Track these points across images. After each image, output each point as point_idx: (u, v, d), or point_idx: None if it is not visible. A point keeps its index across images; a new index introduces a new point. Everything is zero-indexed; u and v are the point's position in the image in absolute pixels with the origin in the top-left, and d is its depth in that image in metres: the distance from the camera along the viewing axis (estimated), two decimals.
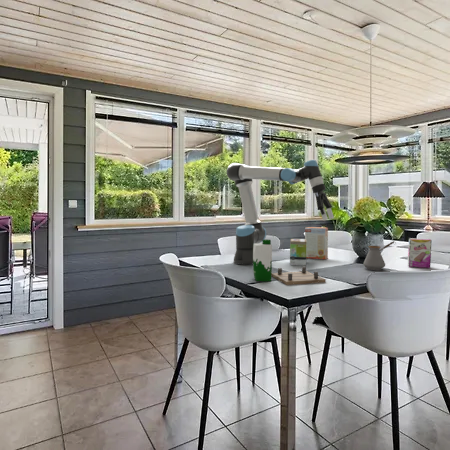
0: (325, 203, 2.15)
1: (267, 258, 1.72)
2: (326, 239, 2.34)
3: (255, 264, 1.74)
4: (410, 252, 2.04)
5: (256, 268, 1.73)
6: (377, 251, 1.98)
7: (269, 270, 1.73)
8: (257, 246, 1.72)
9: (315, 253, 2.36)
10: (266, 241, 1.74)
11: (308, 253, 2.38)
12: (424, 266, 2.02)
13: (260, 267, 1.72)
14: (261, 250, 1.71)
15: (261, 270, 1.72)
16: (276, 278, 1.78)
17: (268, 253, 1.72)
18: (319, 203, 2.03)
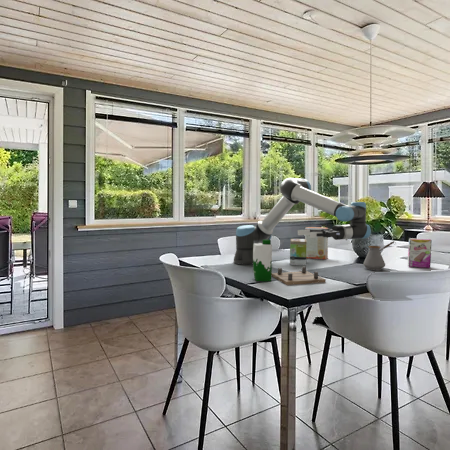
0: (317, 231, 1.87)
1: (267, 258, 1.72)
2: (326, 239, 2.34)
3: (255, 264, 1.74)
4: (410, 252, 2.04)
5: (256, 268, 1.73)
6: (377, 251, 1.98)
7: (269, 270, 1.73)
8: (257, 246, 1.72)
9: (315, 253, 2.36)
10: (266, 241, 1.74)
11: (308, 253, 2.38)
12: (424, 266, 2.02)
13: (260, 267, 1.72)
14: (261, 250, 1.71)
15: (261, 270, 1.72)
16: (276, 278, 1.78)
17: (268, 253, 1.72)
18: (330, 235, 1.73)
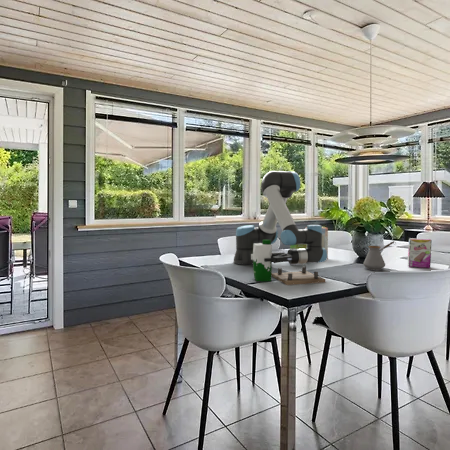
0: None
1: None
2: (326, 239, 2.34)
3: (255, 264, 1.74)
4: (410, 252, 2.04)
5: (256, 268, 1.73)
6: (377, 251, 1.98)
7: (269, 270, 1.73)
8: (257, 246, 1.72)
9: None
10: (266, 241, 1.74)
11: None
12: (424, 266, 2.02)
13: (260, 267, 1.72)
14: (261, 250, 1.71)
15: (261, 270, 1.72)
16: (276, 278, 1.78)
17: (268, 253, 1.72)
18: (278, 260, 1.70)
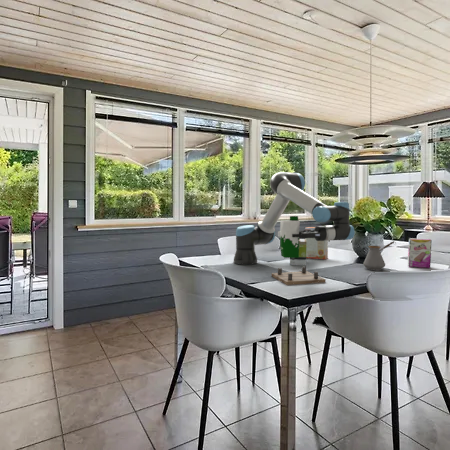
0: None
1: None
2: None
3: (283, 240, 1.73)
4: (410, 252, 2.04)
5: (284, 245, 1.73)
6: (377, 251, 1.98)
7: (297, 246, 1.72)
8: (285, 222, 1.71)
9: (315, 253, 2.36)
10: (294, 217, 1.73)
11: (308, 253, 2.38)
12: (424, 266, 2.02)
13: (287, 243, 1.71)
14: (289, 226, 1.71)
15: (289, 246, 1.71)
16: (276, 278, 1.78)
17: (296, 229, 1.71)
18: (307, 236, 1.69)
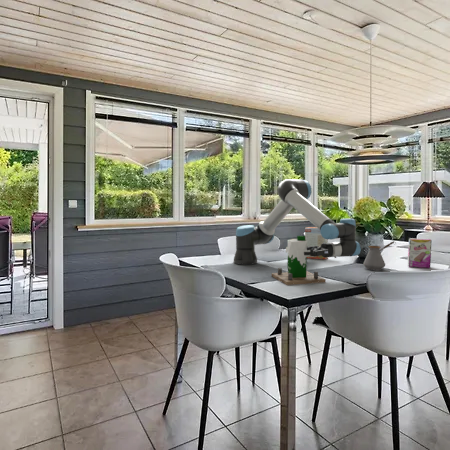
0: None
1: None
2: (326, 239, 2.34)
3: (290, 260, 1.74)
4: (410, 252, 2.04)
5: (291, 265, 1.74)
6: (377, 251, 1.98)
7: (304, 266, 1.73)
8: (293, 242, 1.72)
9: None
10: (301, 237, 1.74)
11: None
12: (424, 266, 2.02)
13: (295, 263, 1.73)
14: (297, 247, 1.72)
15: (296, 266, 1.73)
16: (276, 278, 1.78)
17: (303, 249, 1.72)
18: (318, 254, 1.69)
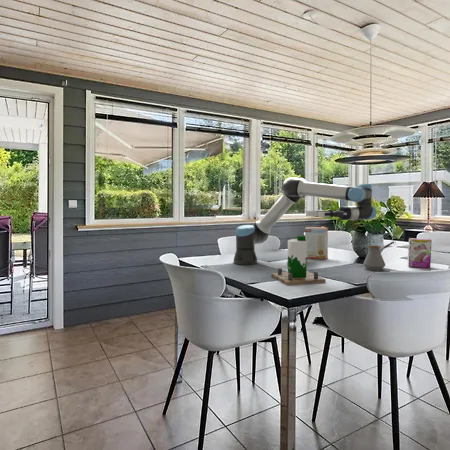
0: None
1: (303, 254, 1.73)
2: (326, 239, 2.34)
3: (290, 260, 1.74)
4: (410, 252, 2.04)
5: (291, 265, 1.74)
6: (377, 251, 1.98)
7: (304, 266, 1.74)
8: (293, 242, 1.72)
9: (315, 253, 2.36)
10: (301, 237, 1.74)
11: (308, 253, 2.38)
12: (424, 266, 2.02)
13: (295, 263, 1.73)
14: (297, 247, 1.72)
15: (297, 266, 1.73)
16: (276, 278, 1.78)
17: (304, 249, 1.73)
18: (338, 214, 1.81)
